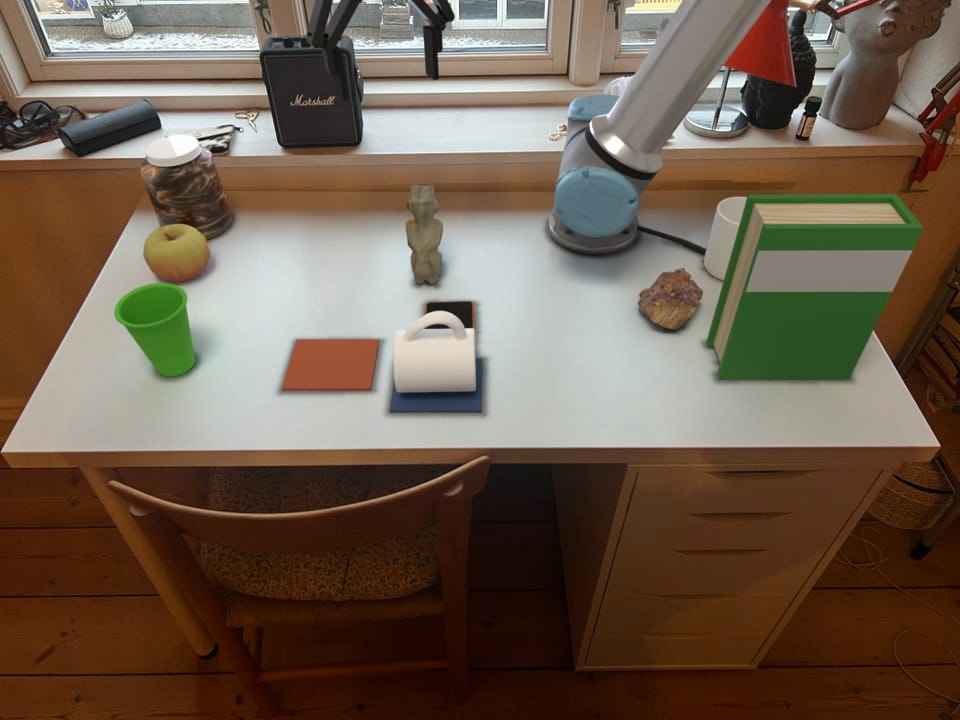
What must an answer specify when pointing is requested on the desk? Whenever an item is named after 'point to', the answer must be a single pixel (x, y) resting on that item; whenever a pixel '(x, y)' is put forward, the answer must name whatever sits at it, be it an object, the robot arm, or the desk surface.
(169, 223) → the jar
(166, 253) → the apple
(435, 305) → the smartphone
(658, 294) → the mineral specimen
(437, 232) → the sculpture
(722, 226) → the mug
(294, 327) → the desk surface
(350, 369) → the terracotta mat
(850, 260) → the hardback book
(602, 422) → the desk surface
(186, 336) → the cup
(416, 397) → the blue mat
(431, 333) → the mug
